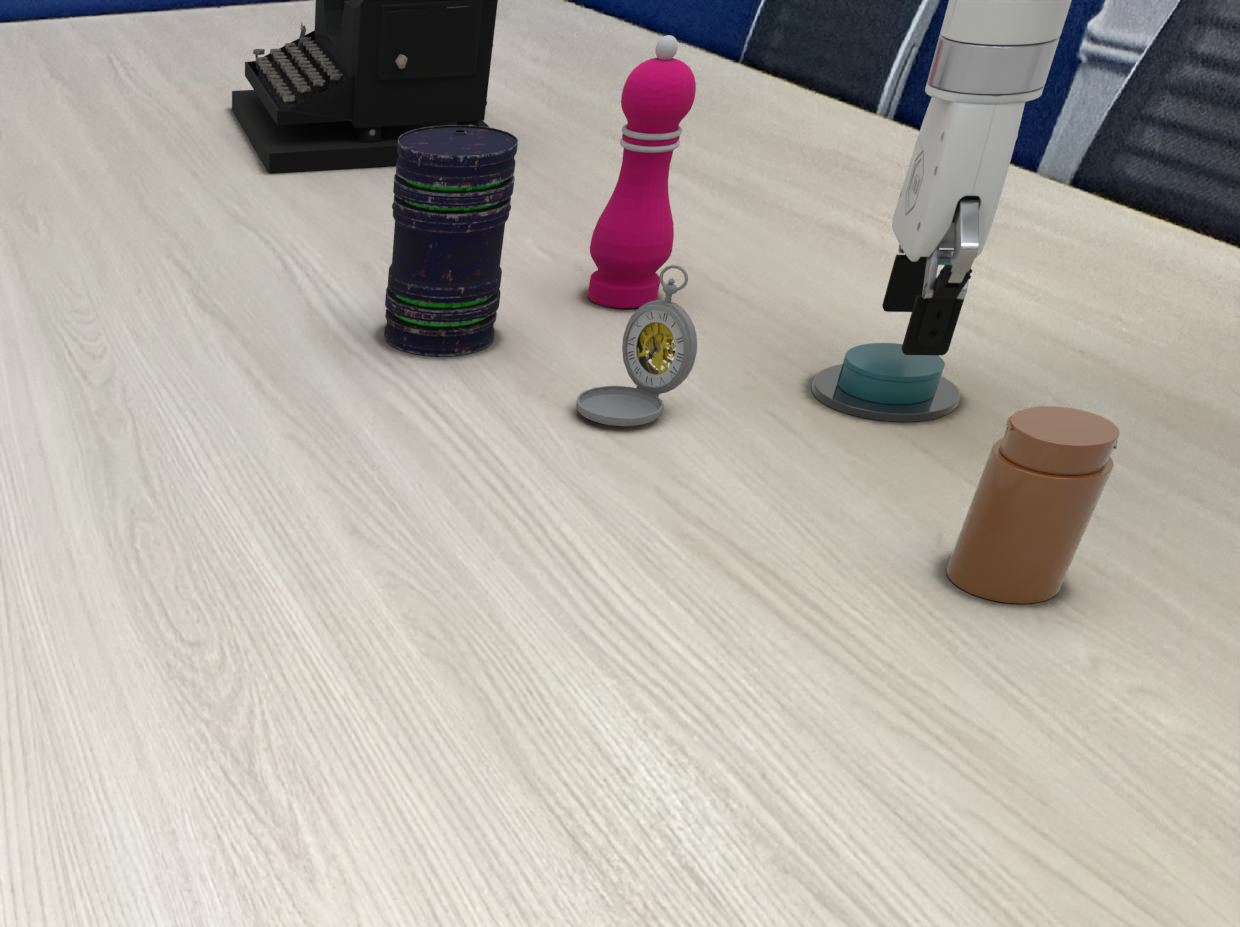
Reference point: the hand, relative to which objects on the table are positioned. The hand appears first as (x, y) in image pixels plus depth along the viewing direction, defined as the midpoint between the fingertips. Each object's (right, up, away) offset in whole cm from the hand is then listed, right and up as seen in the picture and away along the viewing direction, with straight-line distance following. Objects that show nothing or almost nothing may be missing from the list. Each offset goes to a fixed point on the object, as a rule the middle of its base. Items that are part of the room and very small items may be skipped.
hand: (912, 331), depth 111 cm
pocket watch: (-21, -5, +3) cm, 22 cm away
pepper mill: (-16, +14, +21) cm, 30 cm away
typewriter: (-35, +58, +65) cm, 94 cm away
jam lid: (0, -2, +2) cm, 3 cm away
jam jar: (-3, -25, -18) cm, 31 cm away
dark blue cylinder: (-34, +7, +16) cm, 38 cm away
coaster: (0, -3, +4) cm, 5 cm away
